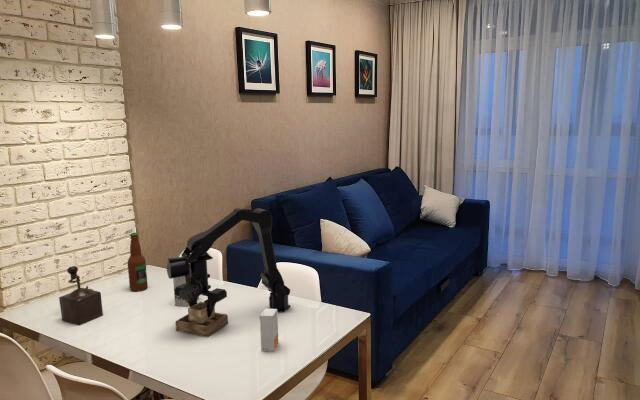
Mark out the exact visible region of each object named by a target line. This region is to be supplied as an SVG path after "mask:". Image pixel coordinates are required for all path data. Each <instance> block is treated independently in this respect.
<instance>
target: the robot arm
mask: <svg viewBox="0 0 640 400" xmlns="http://www.w3.org/2000/svg"><path fill="white" fill-rule="evenodd" d="M242 221H245V222H250V223H252V225H253V228H254V229H255V231H256V233H257V234H258V235H257V236H258V241H259V247H260V252H261V256H262V260H263V262H262V263H263V267H264V269H263V272H262V273H260V278H261V284H262V285H263V286H264V287H265V288H266V289H267V290H268V292H270V293H269V296H268V298H269V299H268V303H269V304H268V305H269V307H268V309H277V313H284V312H285V311H286V310H288V309H289V308H290V307H291V304H289V296H290V293H291V289H290V288H289V287H288V286H286V285H285V282H284V279H283V276H282V274H281V272H280V270H279V269H278V266H277V259H276V255H275V250H274V244H273V239H272V234H271V231H272V227H273V216H272V213H271V212H270V211H268V210H266V209H263V208H259V207H258V208H255V209H249V208H248V209H247V208H241V207H236V208H234V209H233V210H232V211H231V212H230V213H228V214H227V215H226V216H225V217H223V218H221V220H219V221H217V222H216V223H215V224H214V225H213V226H211V227H210V228H208V229H206V230H204V231H202V232H199V233H197V234H195V235H193V236H191V237H190V238H189V239H188V240H187V241H186V247H185V248H184V250H183V252H182V253H181V256H177V257H168V258H167V263H166V274H167V277H168V279H170V280H173V278H177V277H182V276H187V274H189V272H190V273H191V277H188V284H187V283H184V284H182V285H179V286H177V287H176V288H175V290H174V289H173V292H174V291H175V295H176V296H181V299H182V300H186V301H187V302H188V304H189V306H188V307H189V308H190V307H192V306H193V305H195V304H197V303H198V300H197V298H198V297H199V298H200V296H205V297H206V298H207V299H205V300H204V301H203V302H205V303H206V305H207V315H208V317H210V316H211V314H212V312H213V309H214V306H216V304H217V303H219V302H221V301H222V300H224V299H226V298H227V297H228V293H227V290H226V289H224V288H218V287H217V288H214V289H212V290H210V289H211V288H212V285H210V284H209V279H210V278H211V274H210V273H208V261H209V260H210V261H211V260H213V256H211V255H210V254H209V252H208V251H209V250H210V249H211V248H212V247H213V245H214V243H215V242H216V241H217V240H218V239H219V238H221V237H222V236H224V235H225V234H226V233H227V232H229V231H230V230H231V229H233V228H234V227H235V226H236V225H238V224H239V223H240V222H242ZM189 263H190V266H189Z"/></svg>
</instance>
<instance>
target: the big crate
mask: <svg viewBox="0 0 640 400" xmlns="http://www.w3.org/2000/svg"><path fill="white" fill-rule="evenodd" d="M228 324H229V315H228V314H227V313H223V312H216V311H215V316H214V317H212V318H211V319H209V320H207V321H206V322H204V323H198V322H193V321H189V317H188V314H186V315H184V316H182V317H180V318H179V319H177V320H175V330H176V332H179V333H181V332H182V333H186V334H190V335H195V336H200V337H205V338H209V337H210V336H212V335H214V334H215V333H217V332H218V331H220V330H221V329H223V328H225V327H226V326H227V325H228Z"/></svg>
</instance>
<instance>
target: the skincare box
mask: <svg viewBox="0 0 640 400" xmlns="http://www.w3.org/2000/svg"><path fill="white" fill-rule="evenodd" d="M268 308H269V307H268ZM268 308H267V307H266V308H265V309H264V310H263V311H262V312H261V314H260V315H259V323H260V327H259V328H260V351H261V352H270V353H271V352H272V353H273V352H275V350H276V348H277V347H278V345H279V320H278V319H279V318H278V315H279V314H278V311H277V309H268Z"/></svg>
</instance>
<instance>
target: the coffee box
mask: <svg viewBox="0 0 640 400" xmlns="http://www.w3.org/2000/svg"><path fill="white" fill-rule="evenodd" d="M189 266H190V263H189ZM188 277H191V273H190V272H189V274H187V276H182V277H177V278H172V280H173V296H174V306H178V307H179V306H180V307H190V306H189V304H188V302H187V301H186V300H182V299H181V296H176V295H175V291H174V290H175V288H176V287H177V286H179V285H182V284H184V283H187V284H188ZM199 299H200V296H199V297H198V298H197V301H198V300H199Z"/></svg>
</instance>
